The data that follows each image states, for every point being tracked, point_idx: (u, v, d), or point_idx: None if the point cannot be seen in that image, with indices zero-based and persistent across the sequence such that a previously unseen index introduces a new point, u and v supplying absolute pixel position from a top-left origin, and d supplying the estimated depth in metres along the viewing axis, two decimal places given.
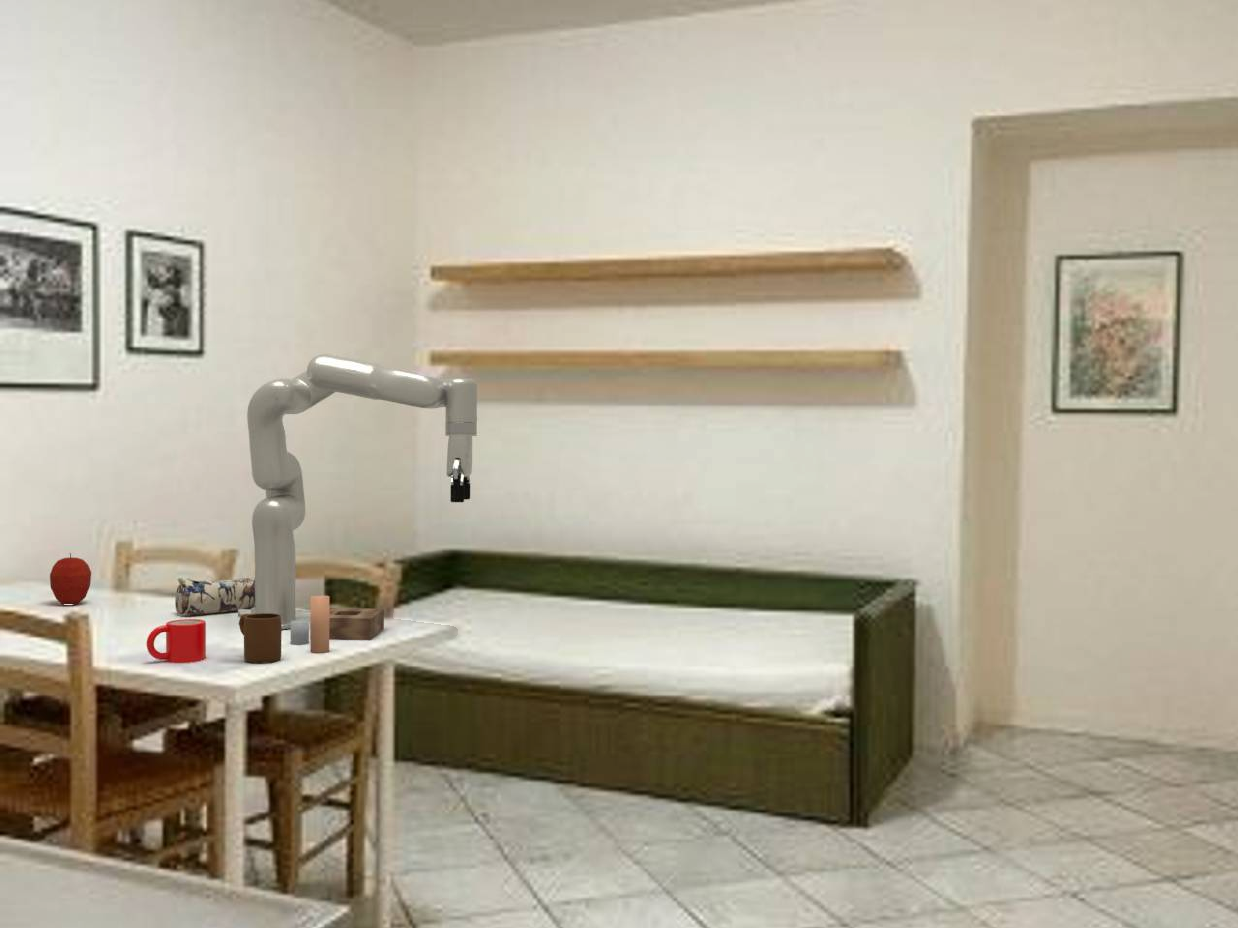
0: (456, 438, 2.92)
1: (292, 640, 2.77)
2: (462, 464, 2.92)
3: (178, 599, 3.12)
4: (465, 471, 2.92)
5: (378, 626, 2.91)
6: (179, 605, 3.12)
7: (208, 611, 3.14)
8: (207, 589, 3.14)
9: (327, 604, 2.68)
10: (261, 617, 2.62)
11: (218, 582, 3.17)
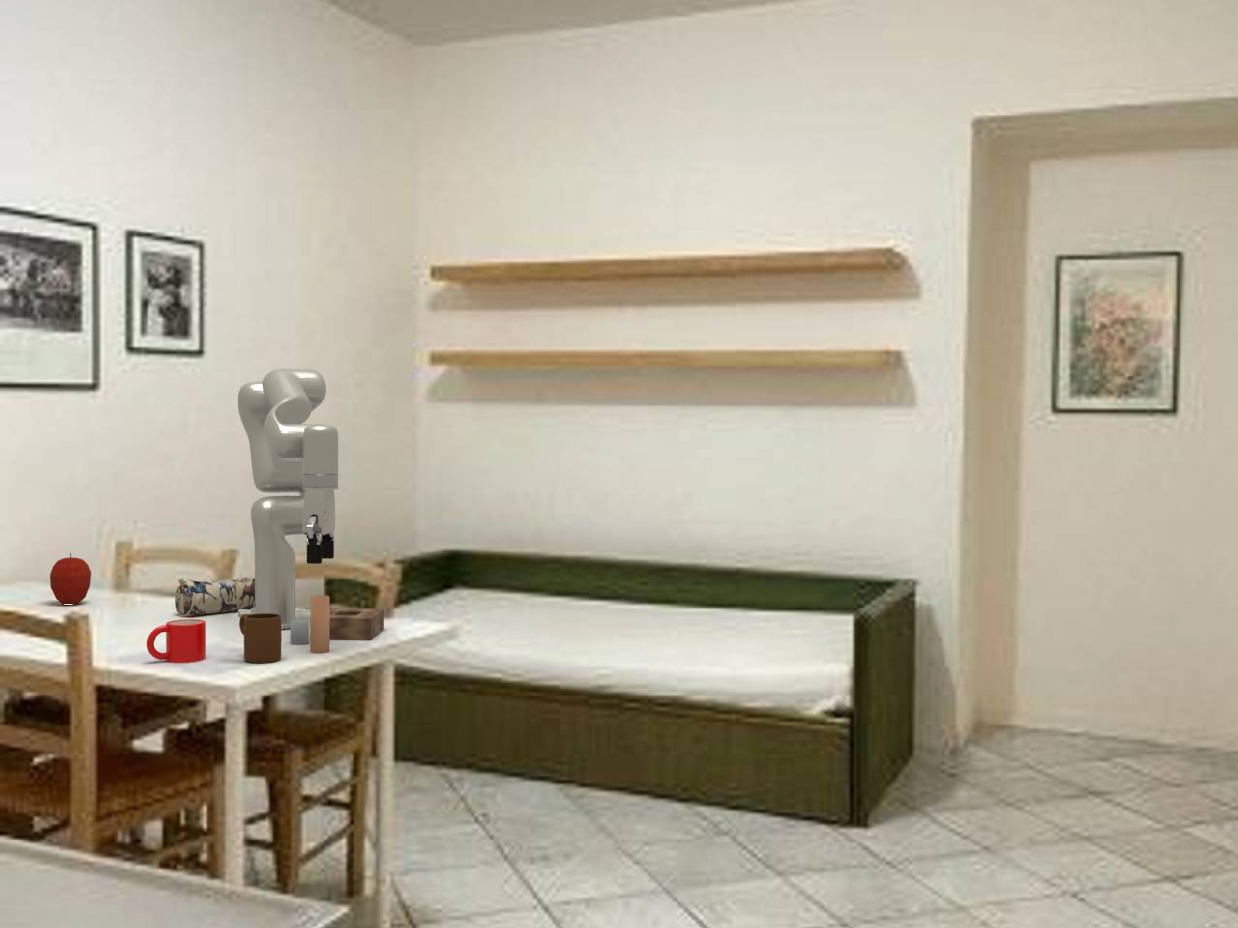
0: (313, 492, 2.63)
1: (292, 640, 2.77)
2: (319, 521, 2.63)
3: (179, 600, 3.11)
4: (323, 529, 2.63)
5: (378, 626, 2.91)
6: (181, 606, 3.11)
7: (209, 611, 3.14)
8: (209, 589, 3.13)
9: (327, 604, 2.68)
10: (261, 617, 2.62)
11: (218, 582, 3.17)
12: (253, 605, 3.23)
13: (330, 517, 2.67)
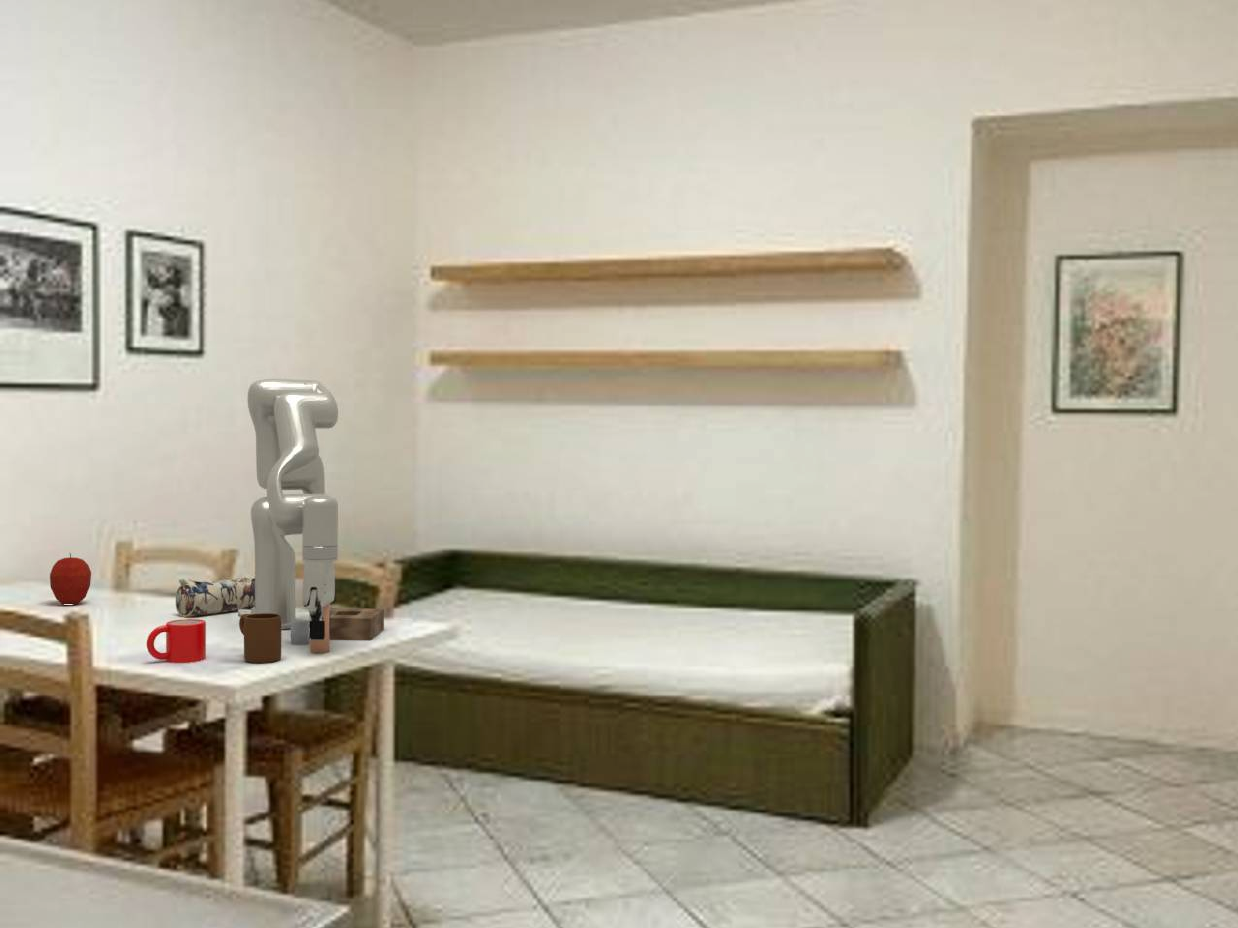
0: (313, 564, 2.64)
1: (292, 640, 2.77)
2: (319, 594, 2.63)
3: (181, 600, 3.10)
4: (322, 601, 2.64)
5: (378, 626, 2.91)
6: (182, 606, 3.10)
7: (211, 611, 3.14)
8: (210, 589, 3.13)
9: None
10: (261, 617, 2.62)
11: (219, 582, 3.17)
12: (252, 605, 3.23)
13: (330, 588, 2.67)
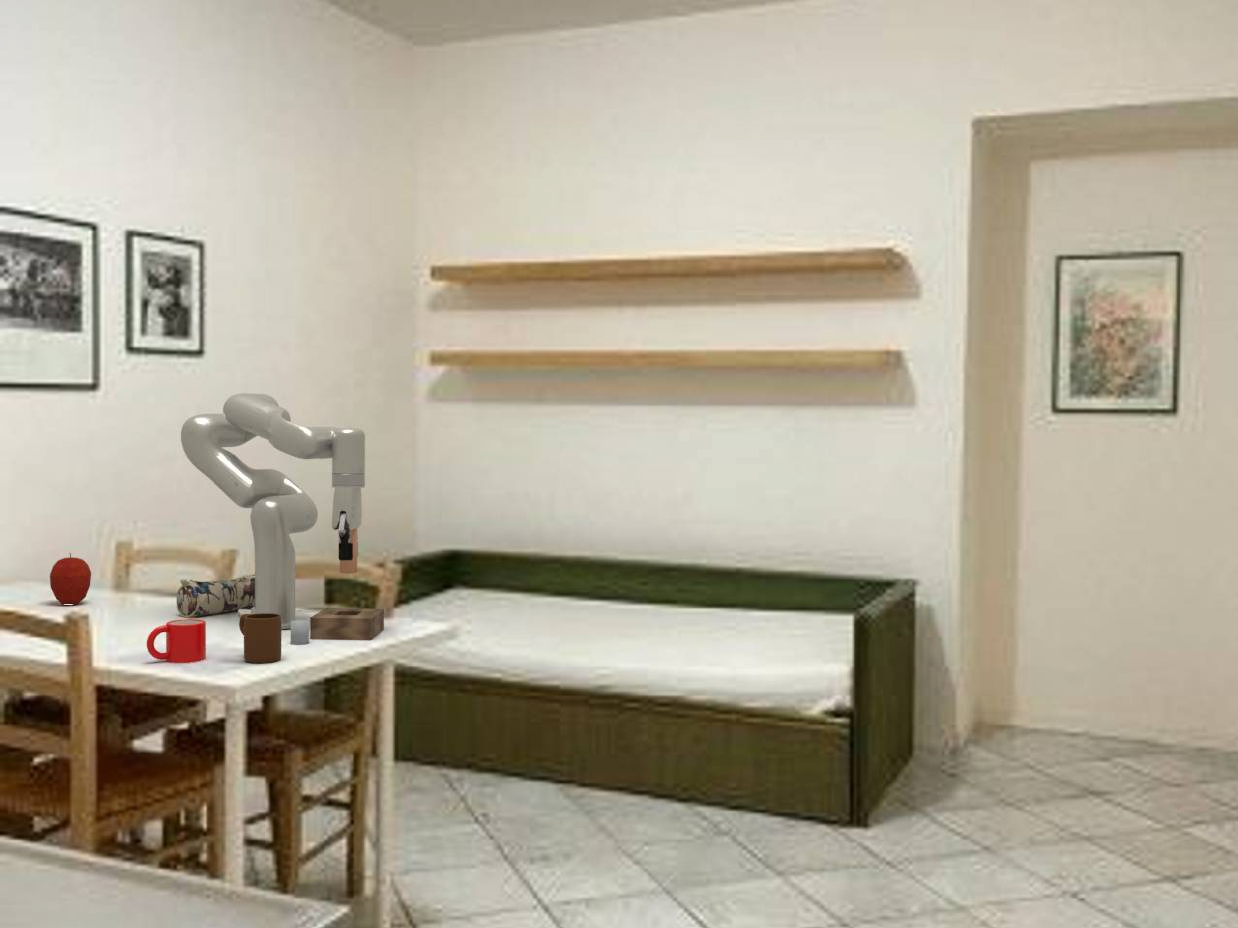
0: (342, 490, 2.84)
1: (292, 640, 2.77)
2: (348, 517, 2.84)
3: (183, 601, 3.10)
4: (351, 524, 2.84)
5: (378, 626, 2.91)
6: (185, 607, 3.09)
7: (213, 611, 3.13)
8: (212, 589, 3.13)
9: (355, 528, 2.88)
10: (261, 617, 2.62)
11: (219, 582, 3.17)
12: (252, 605, 3.24)
13: (357, 513, 2.88)
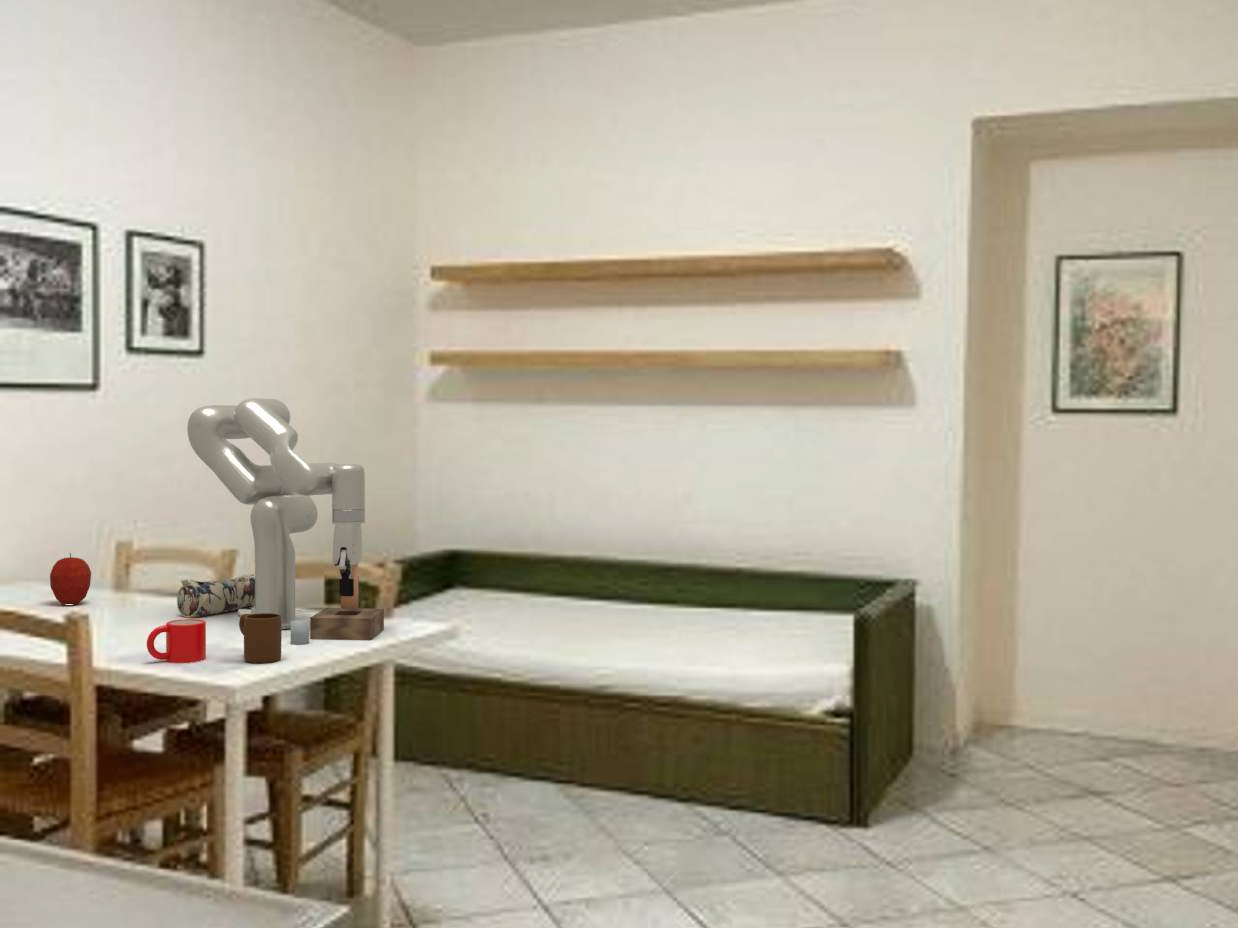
0: (342, 526, 2.84)
1: (292, 640, 2.77)
2: (348, 553, 2.84)
3: (184, 601, 3.09)
4: (352, 560, 2.84)
5: (378, 626, 2.91)
6: (186, 607, 3.09)
7: (214, 611, 3.13)
8: (213, 589, 3.13)
9: None
10: (261, 617, 2.62)
11: (219, 582, 3.17)
12: (251, 604, 3.24)
13: (358, 549, 2.88)
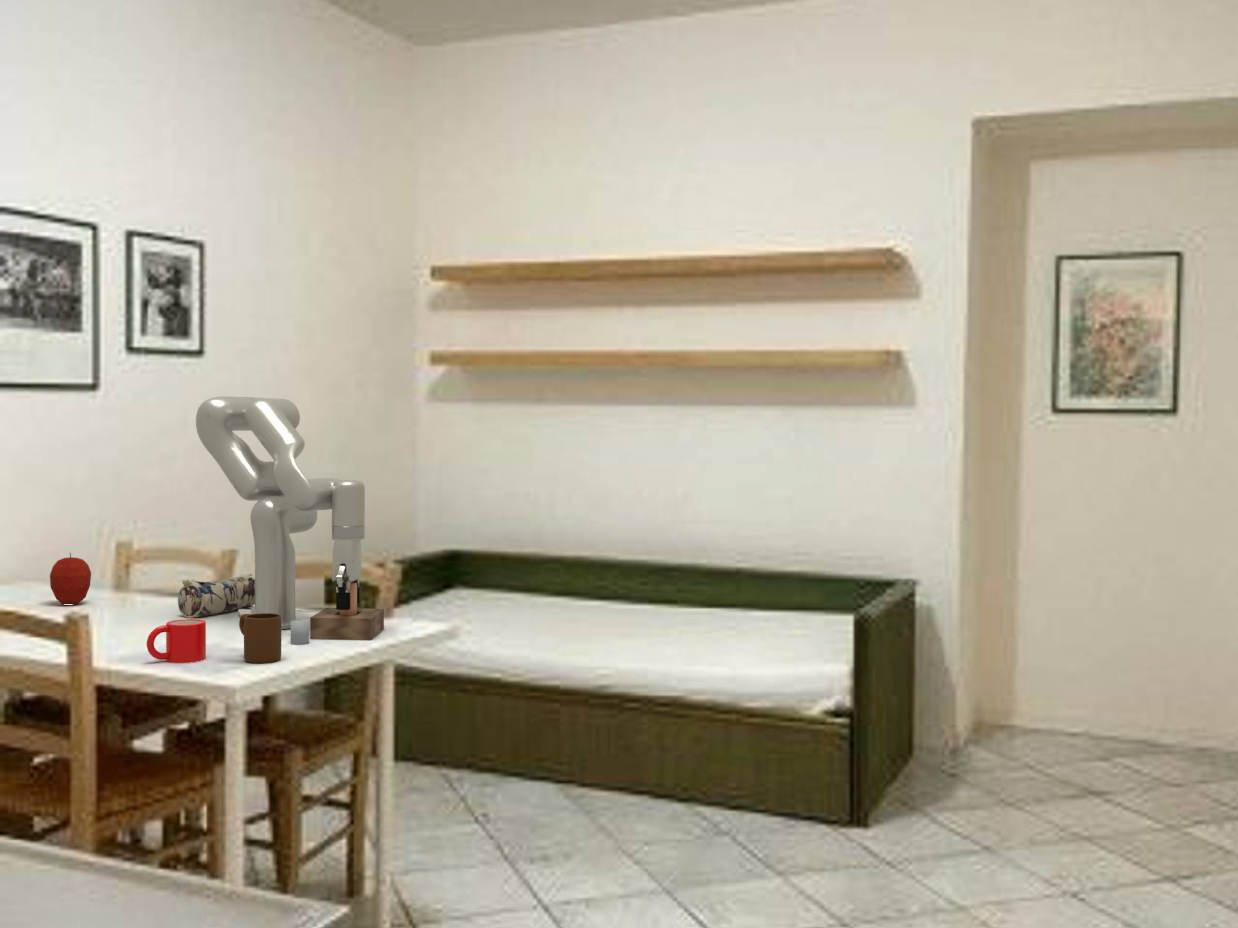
0: (342, 543, 2.85)
1: (292, 640, 2.77)
2: (347, 570, 2.84)
3: (186, 601, 3.09)
4: (351, 577, 2.85)
5: (378, 626, 2.91)
6: (188, 607, 3.09)
7: (215, 611, 3.13)
8: (214, 589, 3.13)
9: (355, 590, 2.89)
10: (261, 617, 2.62)
11: (219, 582, 3.17)
12: (250, 604, 3.24)
13: (357, 565, 2.88)
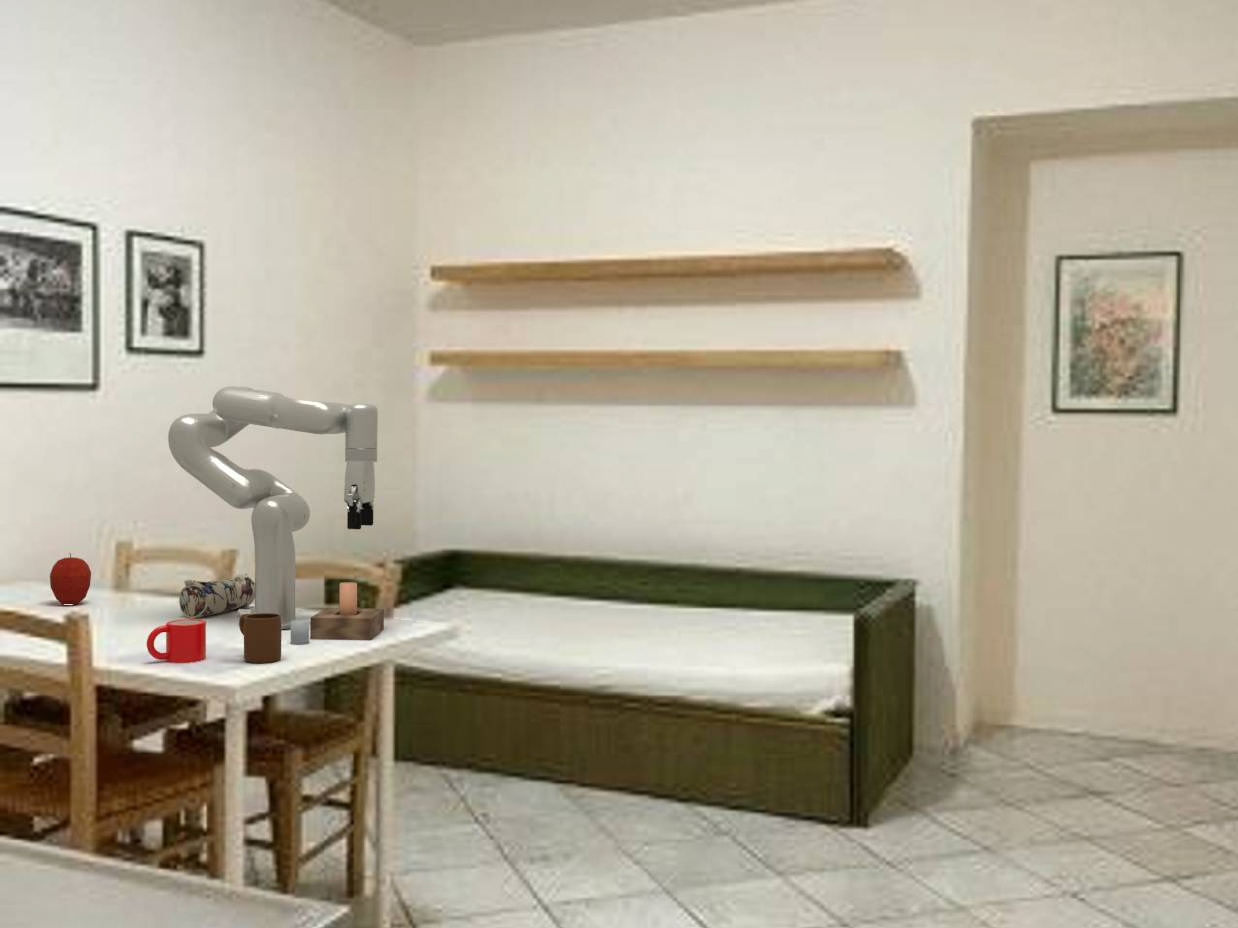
0: (354, 464, 2.90)
1: (292, 640, 2.77)
2: (359, 491, 2.89)
3: (189, 601, 3.08)
4: (362, 498, 2.90)
5: (378, 626, 2.91)
6: (191, 607, 3.08)
7: (216, 611, 3.14)
8: (216, 589, 3.13)
9: (355, 590, 2.89)
10: (261, 617, 2.62)
11: (219, 582, 3.17)
12: (247, 604, 3.25)
13: (369, 487, 2.93)
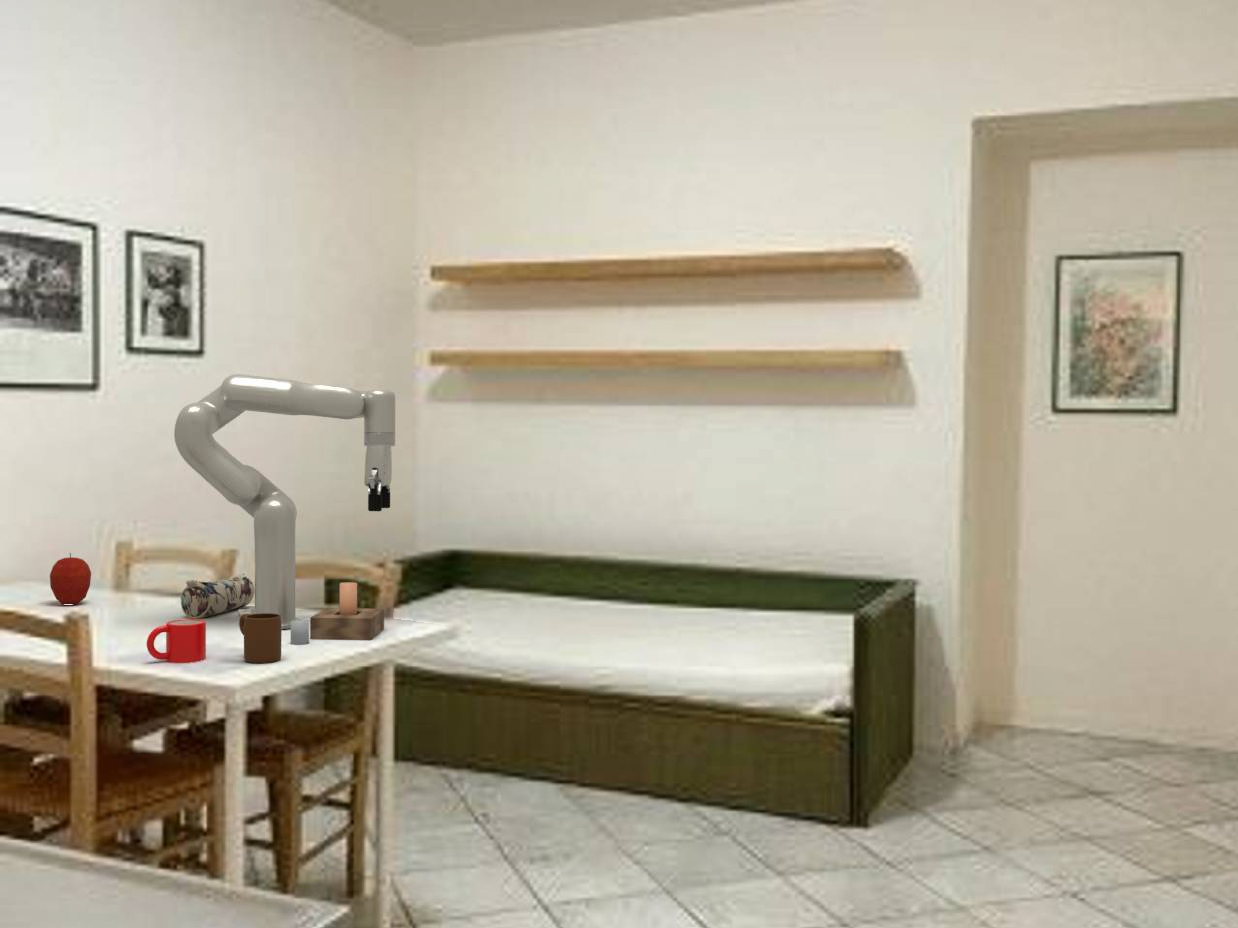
0: (374, 448, 2.98)
1: (292, 640, 2.77)
2: (379, 474, 2.98)
3: (192, 602, 3.08)
4: (382, 481, 2.99)
5: (378, 626, 2.91)
6: (194, 608, 3.08)
7: (218, 611, 3.14)
8: (217, 589, 3.13)
9: (355, 590, 2.89)
10: (261, 617, 2.62)
11: (219, 582, 3.17)
12: (245, 603, 3.25)
13: (388, 471, 3.02)
